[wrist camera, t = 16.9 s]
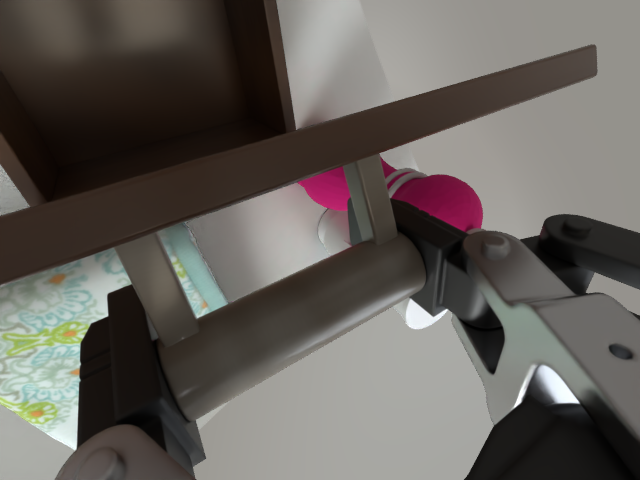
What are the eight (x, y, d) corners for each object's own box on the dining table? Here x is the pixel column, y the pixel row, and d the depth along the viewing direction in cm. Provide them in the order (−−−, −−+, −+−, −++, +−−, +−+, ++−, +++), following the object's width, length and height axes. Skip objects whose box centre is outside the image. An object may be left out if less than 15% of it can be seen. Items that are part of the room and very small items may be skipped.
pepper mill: (272, 138, 30) (443, 231, 16) (337, 108, 32) (543, 166, 18) (295, 202, 35) (444, 323, 20) (350, 173, 37) (523, 263, 22)
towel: (96, 437, 35) (97, 485, 32) (-83, 304, 23) (-118, 357, 19) (251, 346, 41) (268, 377, 37) (177, 200, 28) (190, 224, 25)
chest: (-175, -188, 14) (-362, -347, 8) (195, -164, 20) (238, -247, 14) (53, 177, 23) (41, 223, 18) (257, 123, 29) (298, 143, 23)
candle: (321, 196, 36) (421, 266, 25) (369, 198, 40) (474, 259, 29) (308, 252, 39) (394, 336, 28) (354, 248, 43) (446, 322, 32)
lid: (-990, 501, 2) (-293, 848, 3) (597, 42, 7) (606, 235, 9) (36, 220, 17) (80, 298, 19) (299, 140, 23) (319, 204, 24)
